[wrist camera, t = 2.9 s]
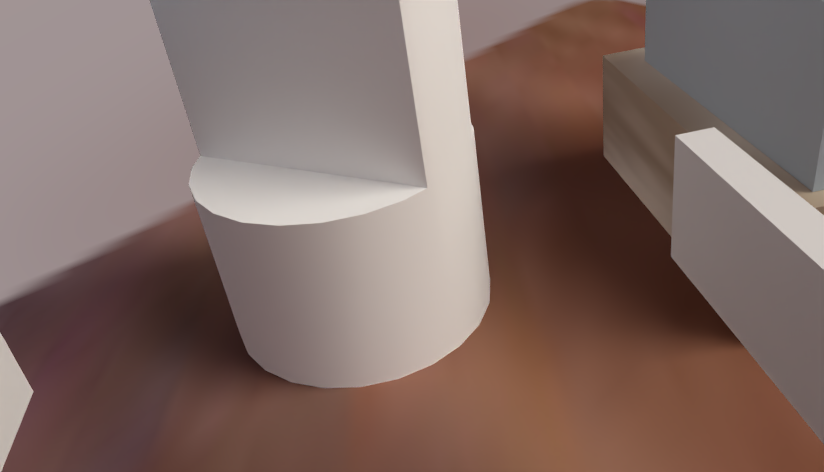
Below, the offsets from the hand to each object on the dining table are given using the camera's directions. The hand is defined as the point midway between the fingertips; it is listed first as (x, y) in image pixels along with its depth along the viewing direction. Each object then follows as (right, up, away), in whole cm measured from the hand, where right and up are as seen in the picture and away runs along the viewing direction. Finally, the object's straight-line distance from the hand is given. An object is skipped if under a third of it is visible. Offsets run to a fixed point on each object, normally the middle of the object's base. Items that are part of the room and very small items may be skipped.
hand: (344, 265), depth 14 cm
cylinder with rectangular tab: (0, -2, +13) cm, 13 cm away
